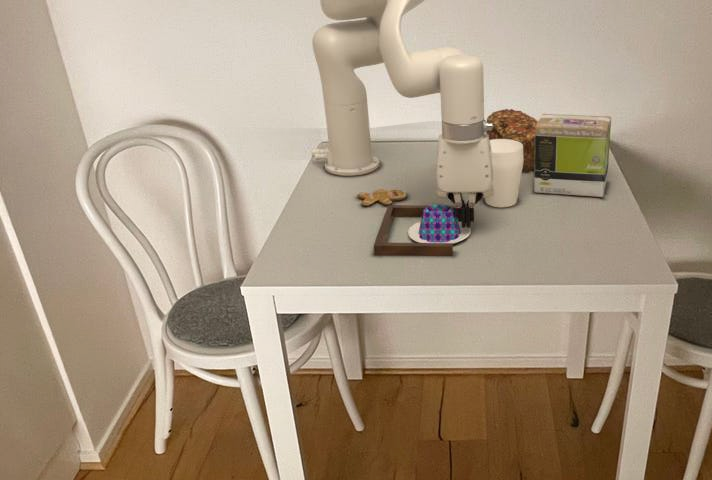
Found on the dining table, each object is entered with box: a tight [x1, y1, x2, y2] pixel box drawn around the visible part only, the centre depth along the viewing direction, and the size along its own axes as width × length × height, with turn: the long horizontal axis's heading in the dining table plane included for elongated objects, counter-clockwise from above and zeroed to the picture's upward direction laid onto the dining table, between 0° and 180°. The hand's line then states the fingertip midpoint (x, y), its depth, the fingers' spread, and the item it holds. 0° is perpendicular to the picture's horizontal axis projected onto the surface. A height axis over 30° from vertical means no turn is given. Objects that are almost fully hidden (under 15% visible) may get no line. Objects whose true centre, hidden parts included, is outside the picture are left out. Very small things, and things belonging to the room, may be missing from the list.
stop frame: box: [373, 204, 458, 257], centre depth 145 cm, size 14×18×2 cm
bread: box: [486, 108, 539, 173], centre depth 178 cm, size 19×11×10 cm, turn 20°
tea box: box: [533, 113, 612, 198], centre depth 161 cm, size 15×10×15 cm, turn 77°
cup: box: [484, 139, 524, 209], centre depth 155 cm, size 9×9×12 cm
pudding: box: [407, 203, 472, 244], centre depth 144 cm, size 12×12×5 cm
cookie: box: [357, 188, 407, 207], centre depth 160 cm, size 8×1×10 cm
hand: (466, 224), depth 144 cm, fingers closed
